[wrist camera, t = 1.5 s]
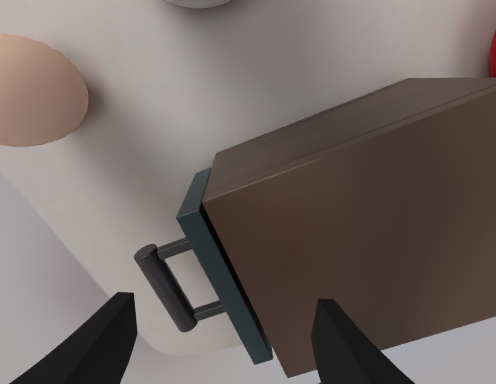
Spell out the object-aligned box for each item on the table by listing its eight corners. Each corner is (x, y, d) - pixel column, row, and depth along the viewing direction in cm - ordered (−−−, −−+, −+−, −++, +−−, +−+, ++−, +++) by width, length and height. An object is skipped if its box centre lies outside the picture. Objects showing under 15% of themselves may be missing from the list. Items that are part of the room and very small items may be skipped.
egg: (95, 145, 20) (4, 187, 12) (14, 110, 19) (-142, 131, 11) (119, 70, 18) (31, 62, 10) (31, 26, 17) (-138, -17, 9)
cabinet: (270, 279, 24) (287, 378, 16) (215, 153, 20) (201, 201, 12) (433, 225, 23) (539, 304, 15) (408, 77, 19) (536, 76, 11)
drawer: (200, 304, 24) (187, 386, 17) (138, 195, 20) (93, 248, 14) (402, 236, 22) (469, 299, 16) (374, 104, 18) (446, 117, 12)
